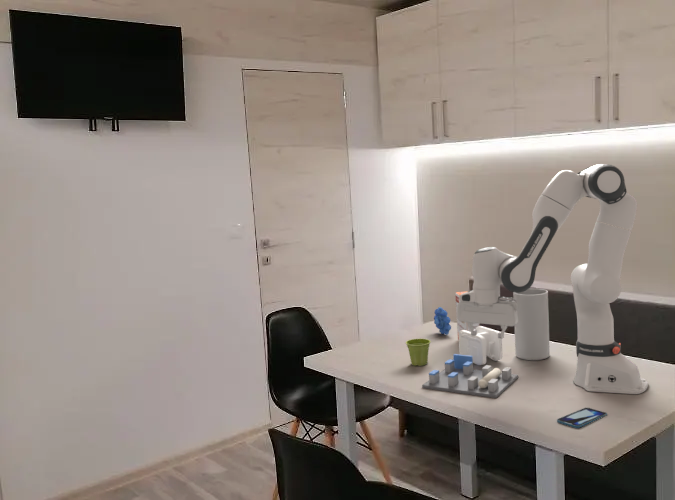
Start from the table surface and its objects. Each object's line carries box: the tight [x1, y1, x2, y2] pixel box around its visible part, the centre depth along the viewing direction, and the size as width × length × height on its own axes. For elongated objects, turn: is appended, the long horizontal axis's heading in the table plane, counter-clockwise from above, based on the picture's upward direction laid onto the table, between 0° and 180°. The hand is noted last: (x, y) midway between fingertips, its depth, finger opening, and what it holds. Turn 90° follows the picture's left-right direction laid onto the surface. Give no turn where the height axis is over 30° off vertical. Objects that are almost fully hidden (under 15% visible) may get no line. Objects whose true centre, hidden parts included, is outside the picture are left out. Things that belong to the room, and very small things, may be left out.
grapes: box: [433, 306, 452, 336], centre depth 294 cm, size 12×7×12 cm, turn 24°
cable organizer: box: [457, 325, 503, 366], centre depth 252 cm, size 15×11×12 cm
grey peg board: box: [421, 353, 519, 399], centre depth 229 cm, size 26×22×6 cm
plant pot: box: [405, 338, 432, 367], centre depth 254 cm, size 9×9×9 cm
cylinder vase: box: [512, 287, 550, 361], centre depth 253 cm, size 12×12×25 cm
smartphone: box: [556, 407, 608, 429], centre depth 192 cm, size 7×1×15 cm
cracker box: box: [454, 291, 481, 341], centre depth 275 cm, size 14×6×21 cm, turn 6°
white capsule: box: [478, 367, 502, 389], centre depth 225 cm, size 16×3×3 cm, turn 147°
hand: (487, 336), depth 223 cm, fingers open, 8 cm apart
